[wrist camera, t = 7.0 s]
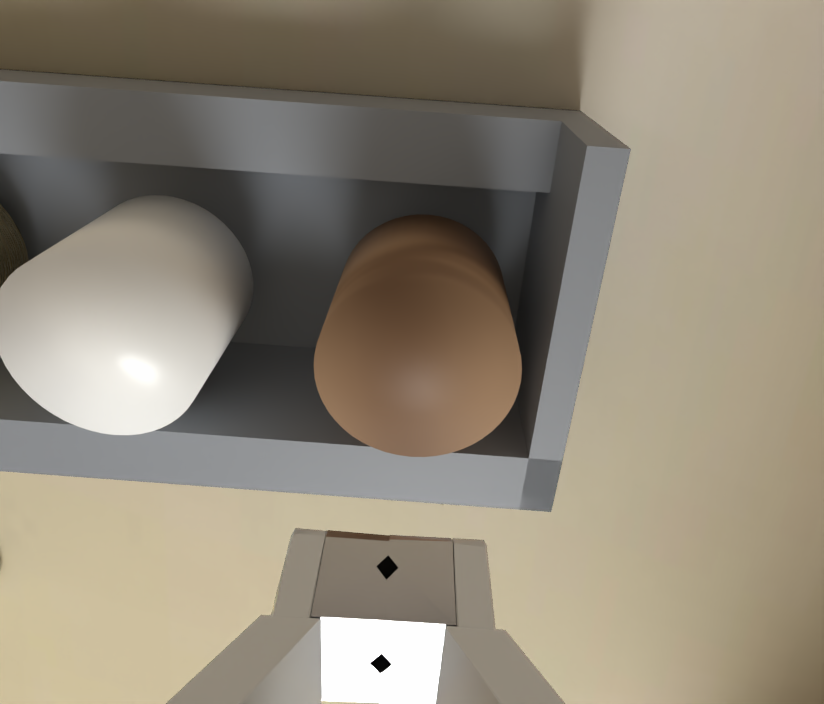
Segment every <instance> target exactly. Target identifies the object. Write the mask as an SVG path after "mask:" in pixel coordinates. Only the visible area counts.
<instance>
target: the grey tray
mask: <svg viewBox="0 0 824 704" xmlns="http://www.w3.org/2000/svg"><path fill="white" fill-rule="evenodd" d="M630 150H631V149H630V148H629V147H627V146H626V145H625V144H623V143H622V142H621V141H620V140H618V139H617V138H616V137H614V136H613V135H612V134H610V133H609V132H608V131H606V130H605V129H604V128H602V127H601V126H600V125H599V124H597V123H596V122H595V121H593V120H592V119H591V118H589V117H588V116H587V115H585V114H584V113H583V112H581V111H577V110H563V109H549V108H535V107H521V106H507V105H493V104H480V103H466V102H452V101H438V100H424V99H410V98H396V97H382V96H368V95H354V94H340V93H326V92H312V91H298V90H284V89H270V88H257V87H243V86H229V85H215V84H201V83H187V82H173V81H159V80H145V79H131V78H117V77H103V76H89V75H75V74H61V73H47V72H34V71H20V70H6V69H0V204H1V205H2V206H3V207H4V208H5V210H6V211H7V212H8V213H9V215H10V216H11V217H12V219H13V220H14V222H15V224H16V225H17V227H18V229H19V231H20V233H21V235H22V237H23V240H24V243H25V246H26V249H27V254H28V261H30V260H31V259H33V258H34V257H36V256H38V255H39V254H41V253H42V252H44V251H46V250H47V249H49V248H50V247H52V246H54V245H55V244H57V243H58V242H60V241H62V240H63V239H65V238H66V237H68V236H70V235H71V234H73V233H74V232H76V231H78V230H79V229H81V228H82V227H84V226H85V225H87V224H89V223H90V222H92V221H93V220H95V219H97V218H98V217H100V216H101V215H103V214H105V213H106V212H108V211H109V210H111V209H113V208H114V207H116V206H117V205H119V204H121V203H123V202H125V201H127V200H130V199H133V198H137V197H140V196H148V195H164V196H171V197H176V198H180V199H183V200H186V201H189V202H191V203H194V204H196V205H198V206H200V207H202V208H204V209H206V210H207V211H209V212H210V213H212V214H213V215H214V216H216V217H217V218H218V219H219V220H221V221H222V222H223V223H224V224H225V225H226V226H227V227H228V228H229V229H230V230H231V231H232V233H233V234H234V235H235V237H236V238H237V239H238V241H239V242H240V244H241V246H242V247H243V249H244V251H245V253H246V255H247V258H248V260H249V263H250V267H251V271H252V277H253V296H252V302H251V305H250V308H249V311H248V313H247V315H246V317H245V319H244V320H243V322H242V323H241V325H240V327H239V328H238V330H237V332H236V333H235V335H234V336H233V338H232V340H231V341H230V343H229V344H228V346H227V348H226V349H225V351H224V352H223V354H222V356H221V357H220V359H219V361H218V362H217V364H216V365H215V367H214V369H213V370H212V372H211V373H210V375H209V377H208V378H207V380H206V381H205V383H204V385H203V386H202V388H201V390H200V391H199V393H198V394H197V396H196V398H195V399H194V401H193V402H192V404H191V405H190V406H189V408H188V409H187V410H186V411H185V412H184V413H183V414H182V415H181V416H180V417H179V418H178V419H176V420H175V421H173V422H172V423H170V424H168V425H166V426H165V427H163V428H160V429H157V430H155V431H152V432H148V433H143V434H136V435H111V434H103V433H99V432H94V431H90V430H87V429H84V428H81V427H78V426H75V425H73V424H71V423H69V422H66V421H64V420H62V419H61V418H59V417H57V416H55V415H53V414H52V413H50V412H49V411H47V410H46V409H45V408H43V407H42V406H40V405H39V404H38V403H37V402H36V401H34V400H33V399H32V398H31V397H30V396H29V395H28V394H27V393H26V392H25V391H24V390H23V389H22V388H21V387H20V386H19V385H18V383H17V382H16V381H15V380H14V378H13V377H12V376H11V374H10V372H9V371H8V369H7V368H6V366H5V364H4V362H3V360H2V358H1V356H0V471H6V472H19V473H33V474H46V475H60V476H73V477H87V478H100V479H114V480H127V481H141V482H154V483H168V484H181V485H195V486H208V487H222V488H235V489H249V490H262V491H276V492H289V493H303V494H316V495H330V496H343V497H357V498H370V499H384V500H397V501H411V502H424V503H438V504H451V505H465V506H478V507H492V508H505V509H519V510H532V511H546V512H551V510H552V506H553V501H554V496H555V492H556V487H557V483H558V478H559V474H560V469H561V465H562V460H563V455H564V451H565V446H566V442H567V437H568V433H569V428H570V424H571V419H572V414H573V410H574V405H575V401H576V396H577V392H578V387H579V383H580V378H581V373H582V369H583V364H584V360H585V355H586V351H587V346H588V342H589V337H590V332H591V328H592V323H593V319H594V314H595V310H596V305H597V301H598V296H599V291H600V287H601V282H602V278H603V273H604V269H605V264H606V260H607V255H608V250H609V246H610V241H611V237H612V232H613V228H614V223H615V219H616V214H617V209H618V205H619V200H620V196H621V191H622V187H623V182H624V178H625V173H626V168H627V164H628V159H629V155H630ZM416 214H424V215H435V216H441V217H445V218H448V219H451V220H454V221H456V222H459V223H461V224H463V225H464V226H466V227H468V228H470V229H471V230H472V231H474V232H475V233H476V234H477V235H479V236H480V237H481V238H482V239H483V240H484V241H485V242H486V243H487V245H488V246H489V247H490V249H491V250H492V251H493V253H494V255H495V257H496V259H497V261H498V263H499V266H500V268H501V271H502V276H503V280H504V284H505V289H506V293H507V297H508V302H509V306H510V310H511V315H512V319H513V323H514V328H515V332H516V336H517V341H518V345H519V350H520V354H521V361H522V375H521V383H520V387H519V391H518V394H517V397H516V399H515V402H514V404H513V406H512V408H511V409H510V411H509V413H508V414H507V416H506V417H505V418H504V419H503V421H502V422H501V423H500V424H499V425H498V426H497V427H496V428H495V429H494V430H493V431H492V432H491V433H489V434H488V435H487V436H485V437H484V438H483V439H481V440H479V441H478V442H476V443H474V444H473V445H471V446H468V447H466V448H464V449H461V450H459V451H455V452H452V453H449V454H444V455H439V456H431V457H408V456H400V455H395V454H391V453H387V452H384V451H381V450H378V449H375V448H373V447H371V446H369V445H367V444H364V443H363V442H361V441H359V440H358V439H356V438H355V437H353V436H352V435H350V434H349V433H348V432H347V431H345V430H344V429H343V428H342V427H341V426H340V425H339V424H338V423H337V422H336V421H335V420H334V418H333V417H332V416H331V415H330V413H329V412H328V411H327V409H326V407H325V405H324V403H323V402H322V400H321V397H320V395H319V392H318V390H317V386H316V382H315V376H314V354H315V349H316V345H317V341H318V338H319V336H320V333H321V330H322V327H323V325H324V322H325V319H326V316H327V314H328V311H329V308H330V305H331V303H332V300H333V297H334V294H335V292H336V289H337V286H338V283H339V281H340V278H341V275H342V272H343V270H344V267H345V264H346V262H347V259H348V257H349V256H350V254H351V252H352V250H353V249H354V248H355V246H356V245H357V244H358V242H359V241H360V240H361V239H362V238H363V237H364V236H365V235H366V234H368V233H369V232H370V231H372V230H373V229H374V228H376V227H378V226H379V225H381V224H383V223H385V222H387V221H390V220H392V219H395V218H399V217H403V216H408V215H416Z"/></svg>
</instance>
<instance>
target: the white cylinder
mask: <svg viewBox="0 0 824 704" xmlns="http://www.w3.org/2000/svg"><path fill="white" fill-rule="evenodd" d="M252 296H253V277H252V271H251V267H250V263H249V260H248V258H247V255H246V253H245V251H244V249H243V247H242V246H241V244H240V242H239V241H238V239H237V238H236V237H235V235H234V234H233V233H232V231H231V230H230V229H229V228H228V227H227V226H226V225H225V224H224V223H223V222H222V221H221V220H219V219H218V218H217V217H216V216H214V215H213V214H212V213H210V212H209V211H207V210H206V209H204V208H202V207H200V206H198V205H196V204H194V203H191V202H189V201H186V200H183V199H180V198H176V197H171V196H164V195H148V196H140V197H137V198H133V199H130V200H127V201H125V202H123V203H121V204H119V205H117V206H116V207H114V208H113V209H111V210H109V211H108V212H106V213H105V214H103V215H101V216H100V217H98V218H97V219H95V220H93V221H92V222H90V223H89V224H87V225H85V226H84V227H82V228H81V229H79V230H78V231H76V232H74V233H73V234H71V235H70V236H68V237H66V238H65V239H63V240H62V241H60V242H58V243H57V244H55V245H54V246H52V247H50V248H49V249H47V250H46V251H44V252H42V253H41V254H39V255H38V256H36V257H34V258H33V259H31V260H30V261H28V262H26V263H25V264H23V265H22V266H20V267H19V268H17V269H16V270H15V271H14V272H13V273H12V274H11V275H10V276H9V277H8V278H7V279H6V281H5V282H4V284H3V285H2V286H1V288H0V356H1V358H2V360H3V362H4V364H5V366H6V368H7V369H8V371H9V372H10V374H11V376H12V377H13V378H14V380H15V381H16V382H17V383H18V385H19V386H20V387H21V388H22V389H23V390H24V391H25V392H26V393H27V394H28V395H29V396H30V397H31V398H32V399H33V400H34V401H36V402H37V403H38V404H39V405H40V406H42V407H43V408H45V409H46V410H47V411H49V412H50V413H52V414H53V415H55V416H57V417H59V418H61V419H62V420H64V421H66V422H69V423H71V424H73V425H75V426H78V427H81V428H84V429H87V430H90V431H94V432H99V433H103V434H111V435H136V434H143V433H148V432H152V431H155V430H157V429H160V428H163V427H165V426H166V425H168V424H170V423H172V422H173V421H175V420H176V419H178V418H179V417H180V416H181V415H182V414H183V413H184V412H185V411H186V410H187V409H188V408H189V406H190V405H191V404H192V402H193V401H194V399H195V398H196V396H197V394H198V393H199V391H200V390H201V388H202V386H203V385H204V383H205V381H206V380H207V378H208V377H209V375H210V373H211V372H212V370H213V369H214V367H215V365H216V364H217V362H218V361H219V359H220V357H221V356H222V354H223V352H224V351H225V349H226V348H227V346H228V344H229V343H230V341H231V340H232V338H233V336H234V335H235V333H236V332H237V330H238V328H239V327H240V325H241V323H242V322H243V320H244V319H245V317H246V315H247V313H248V311H249V308H250V305H251V302H252Z"/></svg>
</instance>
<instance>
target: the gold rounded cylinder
mask: <svg viewBox="0 0 824 704" xmlns="http://www.w3.org/2000/svg"><path fill="white" fill-rule="evenodd" d="M26 262H28V254H27V249H26V246H25V243H24V240H23V237H22V235H21V233H20V231H19V229H18V227H17V225H16V224H15V222H14V220H13V219H12V217H11V216H10V215H9V213H8V212H7V211H6V210H5V208H4V207H3V206H2V205H1V204H0V288H1V286H2V285H3V284H4V282H5V281H6V279H7V278H8V277H9V276H10V275H11V274H12V273H13V272H14V271H15V270H16V269H17V268H19V267H20V266H22V265H23V264H25V263H26Z"/></svg>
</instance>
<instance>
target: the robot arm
mask: <svg viewBox="0 0 824 704" xmlns="http://www.w3.org/2000/svg"><path fill="white" fill-rule="evenodd" d="M321 701H343V702H376V703H388V704H565V703H564V701H563V700H562V699H561V698H560V696H559V695H558V694H557V693H556V692H555V690H554V689H553V688H552V687H551V685H550V684H549V683H548V682H547V680H546V679H545V678H544V677H543V676H542V674H541V673H540V672H539V671H538V669H537V668H536V667H535V666H534V664H533V663H532V662H531V661H530V660H529V658H528V657H527V656H526V655H525V653H524V652H523V651H522V650H521V649H520V647H519V646H518V645H517V644H516V642H515V641H514V640H513V639H512V637H511V636H510V635H509V634H508V633H507V631H506V630H500V629H495V619H494V610H493V601H492V591H491V582H490V573H489V563H488V554H487V545H486V543H485V542H484V540H474V539H454V538H453V539H451V538H435V537H416V536H397V535H390V536H387V535H376V534H364V533H353V532H341V531H330V530H328V531H322V530H311V529H300V528H295V530H294V532H293V534H292V535H291V539H290V542H289V546H288V550H287V554H286V558H285V562H284V566H283V570H282V574H281V578H280V582H279V586H278V590H277V593H276V597H275V601H274V605H273V609H272V613H271V615H261V616H259V617H258V618H257V619H256V620H255V621H254V622H253V623H252V624H251V625H250V626H249V627H248V628H247V629H245V630H244V631H243V632H242V633H241V634H240V635H239V636H238V637H237V638H236V639H235V640H234V641H233V642H232V643H230V644H229V645H228V646H227V647H226V648H225V649H224V650H223V651H222V652H221V653H220V654H219V655H218V656H216V657H215V658H214V659H213V660H212V661H211V662H210V663H209V664H208V665H207V666H206V667H205V668H204V669H202V670H201V671H200V672H199V673H198V674H197V675H196V676H195V677H194V678H193V679H192V680H191V681H190V682H188V683H187V684H186V685H185V686H184V687H183V688H182V689H181V690H180V691H179V692H178V693H177V694H176V695H175V696H173V697H172V698H171V699H170V700H169V701H168V702H167V703H166V704H321Z"/></svg>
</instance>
